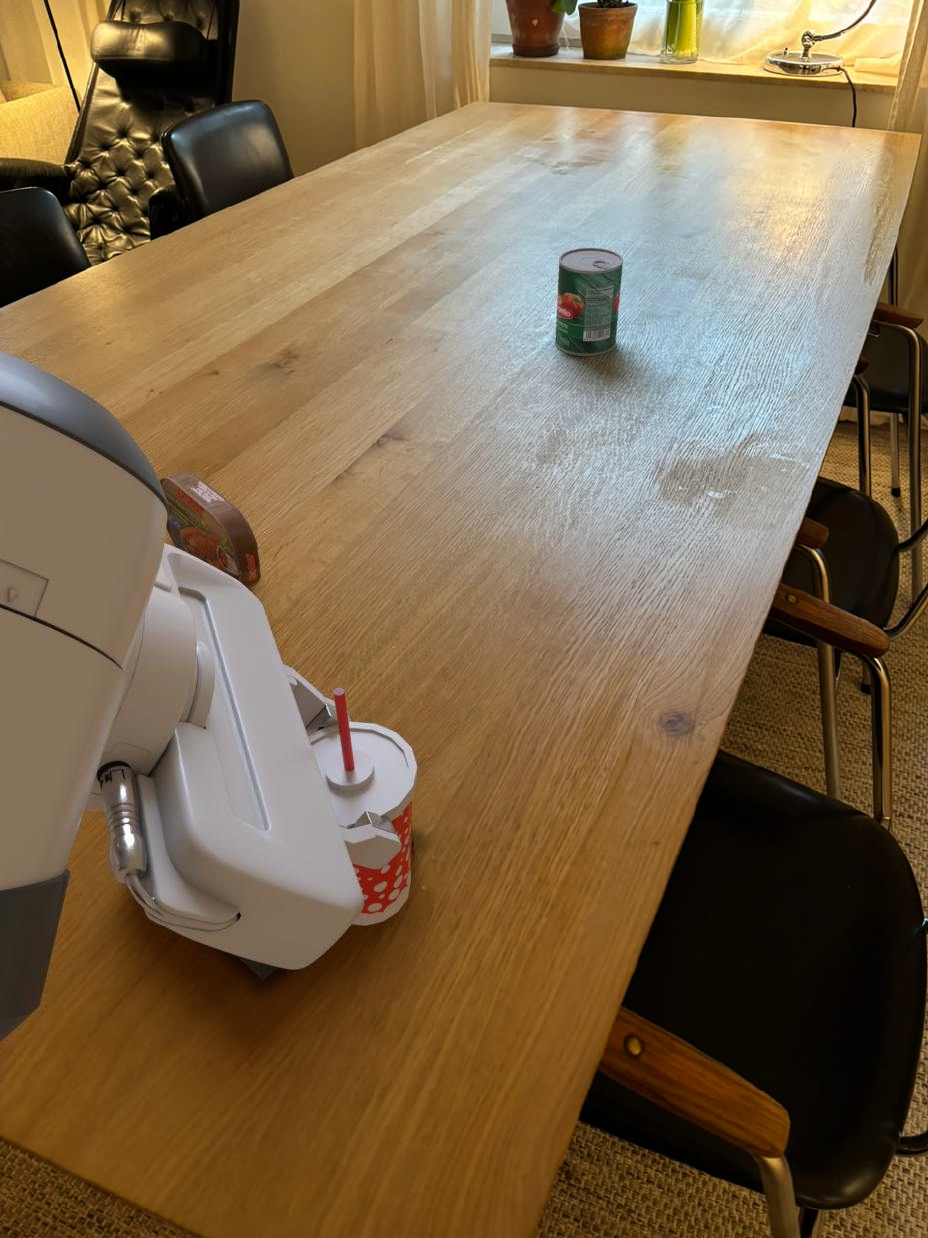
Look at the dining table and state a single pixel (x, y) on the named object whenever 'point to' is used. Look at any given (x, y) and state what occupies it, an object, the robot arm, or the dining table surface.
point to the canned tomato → (588, 301)
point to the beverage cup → (370, 798)
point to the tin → (211, 528)
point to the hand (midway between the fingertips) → (364, 783)
